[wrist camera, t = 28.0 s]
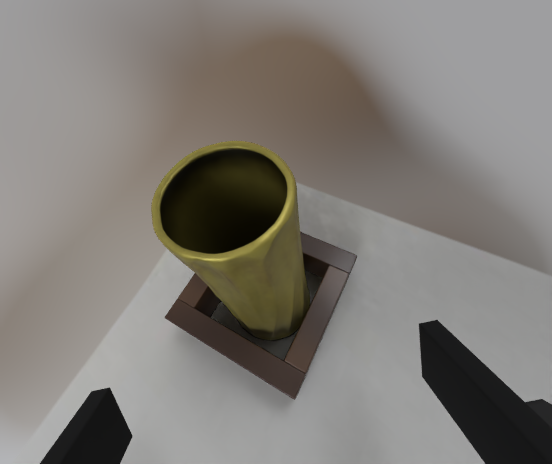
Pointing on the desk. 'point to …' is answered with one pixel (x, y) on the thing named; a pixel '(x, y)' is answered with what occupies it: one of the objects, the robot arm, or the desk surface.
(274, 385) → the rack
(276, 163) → the vase
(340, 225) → the desk surface
